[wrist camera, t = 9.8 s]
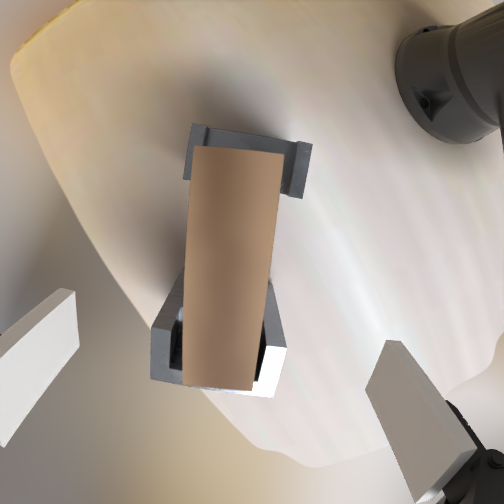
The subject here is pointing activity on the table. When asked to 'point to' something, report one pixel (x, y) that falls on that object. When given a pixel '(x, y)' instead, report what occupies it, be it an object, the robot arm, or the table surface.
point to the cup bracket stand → (272, 337)
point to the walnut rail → (228, 263)
